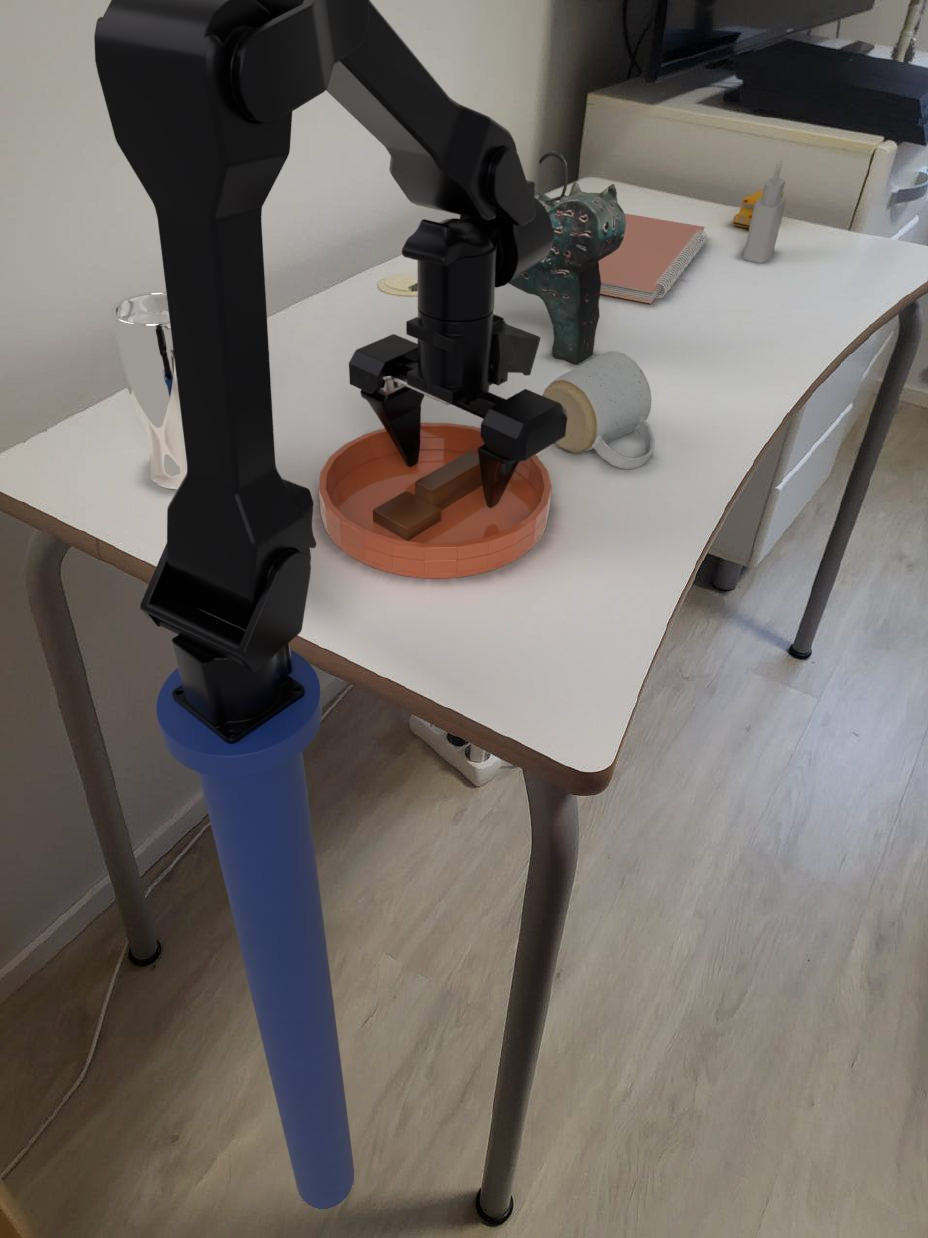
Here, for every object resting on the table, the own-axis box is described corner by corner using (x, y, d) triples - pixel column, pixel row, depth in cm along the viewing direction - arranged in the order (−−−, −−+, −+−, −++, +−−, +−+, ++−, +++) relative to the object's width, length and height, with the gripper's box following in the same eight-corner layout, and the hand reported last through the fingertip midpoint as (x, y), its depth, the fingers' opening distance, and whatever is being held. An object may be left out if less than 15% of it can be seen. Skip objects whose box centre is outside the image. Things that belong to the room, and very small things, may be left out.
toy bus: (730, 226, 139) (735, 199, 136) (760, 211, 144) (766, 185, 142) (749, 231, 137) (755, 204, 135) (779, 216, 143) (785, 190, 140)
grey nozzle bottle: (774, 252, 131) (797, 159, 123) (763, 263, 127) (785, 168, 120) (752, 247, 132) (773, 155, 124) (741, 258, 128) (762, 164, 121)
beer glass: (202, 443, 87) (174, 283, 77) (240, 475, 83) (216, 310, 73) (131, 467, 83) (93, 302, 74) (167, 502, 79) (132, 333, 70)
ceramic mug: (530, 438, 89) (537, 363, 84) (587, 411, 94) (597, 338, 89) (615, 485, 84) (629, 408, 79) (671, 454, 88) (687, 379, 83)
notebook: (659, 306, 115) (661, 290, 113) (531, 281, 120) (532, 266, 118) (709, 240, 134) (712, 225, 132) (597, 220, 139) (599, 206, 137)
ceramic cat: (611, 357, 104) (638, 162, 91) (578, 376, 100) (602, 176, 87) (472, 307, 113) (478, 124, 100) (437, 323, 109) (439, 135, 96)
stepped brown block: (494, 487, 82) (496, 462, 80) (407, 541, 75) (407, 515, 74) (460, 470, 84) (461, 446, 82) (372, 521, 77) (371, 496, 76)
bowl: (442, 611, 70) (443, 580, 68) (274, 511, 79) (270, 480, 77) (592, 507, 81) (596, 477, 79) (429, 429, 90) (429, 401, 88)
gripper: (620, 311, 70) (595, 488, 80) (436, 248, 79) (434, 414, 89) (528, 358, 64) (513, 544, 74) (339, 283, 73) (349, 458, 83)
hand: (451, 484), depth 80 cm, fingers open, 9 cm apart
